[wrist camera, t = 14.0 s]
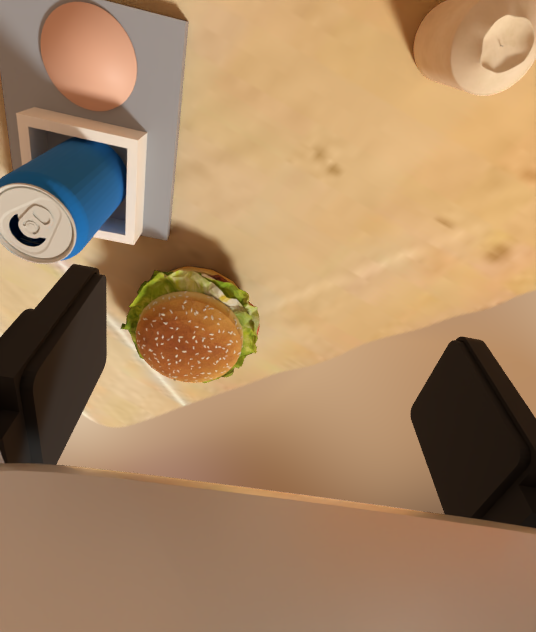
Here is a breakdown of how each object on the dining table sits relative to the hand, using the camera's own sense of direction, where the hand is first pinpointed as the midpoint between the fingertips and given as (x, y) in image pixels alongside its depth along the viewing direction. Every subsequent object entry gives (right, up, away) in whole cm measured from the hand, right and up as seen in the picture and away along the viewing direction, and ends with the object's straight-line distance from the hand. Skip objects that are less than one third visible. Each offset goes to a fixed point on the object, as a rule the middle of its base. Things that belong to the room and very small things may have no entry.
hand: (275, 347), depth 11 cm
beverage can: (-16, +14, +26) cm, 34 cm away
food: (-8, +2, +36) cm, 37 cm away
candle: (+14, +22, +21) cm, 34 cm away
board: (-15, +17, +25) cm, 34 cm away
